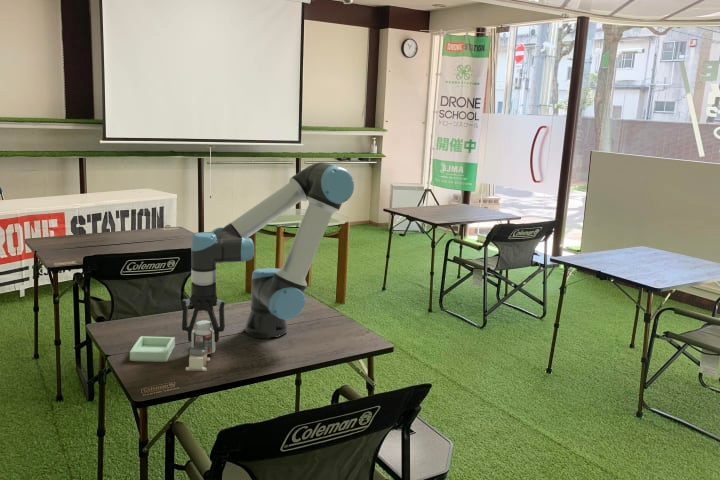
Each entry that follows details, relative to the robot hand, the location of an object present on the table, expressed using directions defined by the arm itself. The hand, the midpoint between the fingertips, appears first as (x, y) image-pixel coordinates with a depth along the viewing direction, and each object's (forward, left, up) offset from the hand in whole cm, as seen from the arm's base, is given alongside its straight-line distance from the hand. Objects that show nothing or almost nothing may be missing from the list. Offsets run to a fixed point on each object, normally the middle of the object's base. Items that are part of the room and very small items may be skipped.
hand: (203, 350), depth 202 cm
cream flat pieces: (0, 0, -1) cm, 1 cm away
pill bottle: (0, 0, -1) cm, 1 cm away
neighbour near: (0, +8, -1) cm, 8 cm away
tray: (+16, 0, -1) cm, 16 cm away
